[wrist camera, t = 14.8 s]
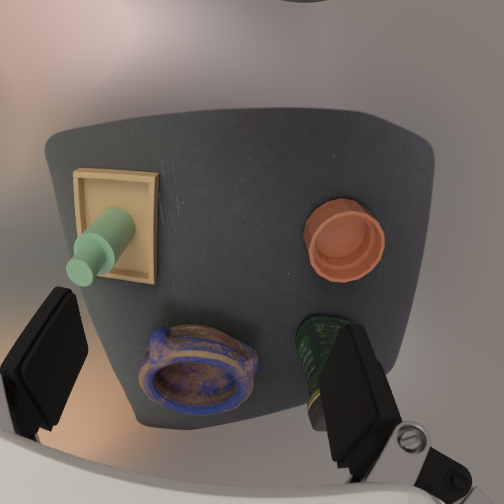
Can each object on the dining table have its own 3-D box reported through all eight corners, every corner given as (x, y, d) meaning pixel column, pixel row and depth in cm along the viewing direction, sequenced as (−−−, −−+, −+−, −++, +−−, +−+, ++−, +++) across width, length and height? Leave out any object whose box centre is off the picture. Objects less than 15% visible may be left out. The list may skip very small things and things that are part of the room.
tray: (79, 167, 37) (72, 171, 35) (159, 172, 38) (154, 177, 36) (87, 266, 44) (82, 273, 42) (157, 276, 45) (154, 284, 43)
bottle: (97, 205, 39) (54, 247, 29) (135, 209, 39) (99, 253, 29) (100, 242, 42) (62, 290, 31) (135, 246, 42) (104, 298, 32)
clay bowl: (311, 191, 39) (319, 205, 35) (379, 204, 40) (394, 218, 36) (296, 258, 44) (301, 278, 40) (360, 266, 45) (370, 285, 40)
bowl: (234, 386, 58) (232, 429, 49) (143, 362, 54) (131, 404, 46) (270, 323, 50) (274, 371, 41) (159, 290, 46) (143, 336, 38)
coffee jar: (289, 344, 52) (302, 440, 36) (304, 309, 48) (326, 409, 32) (340, 350, 53) (365, 439, 37) (359, 317, 49) (393, 409, 33)
